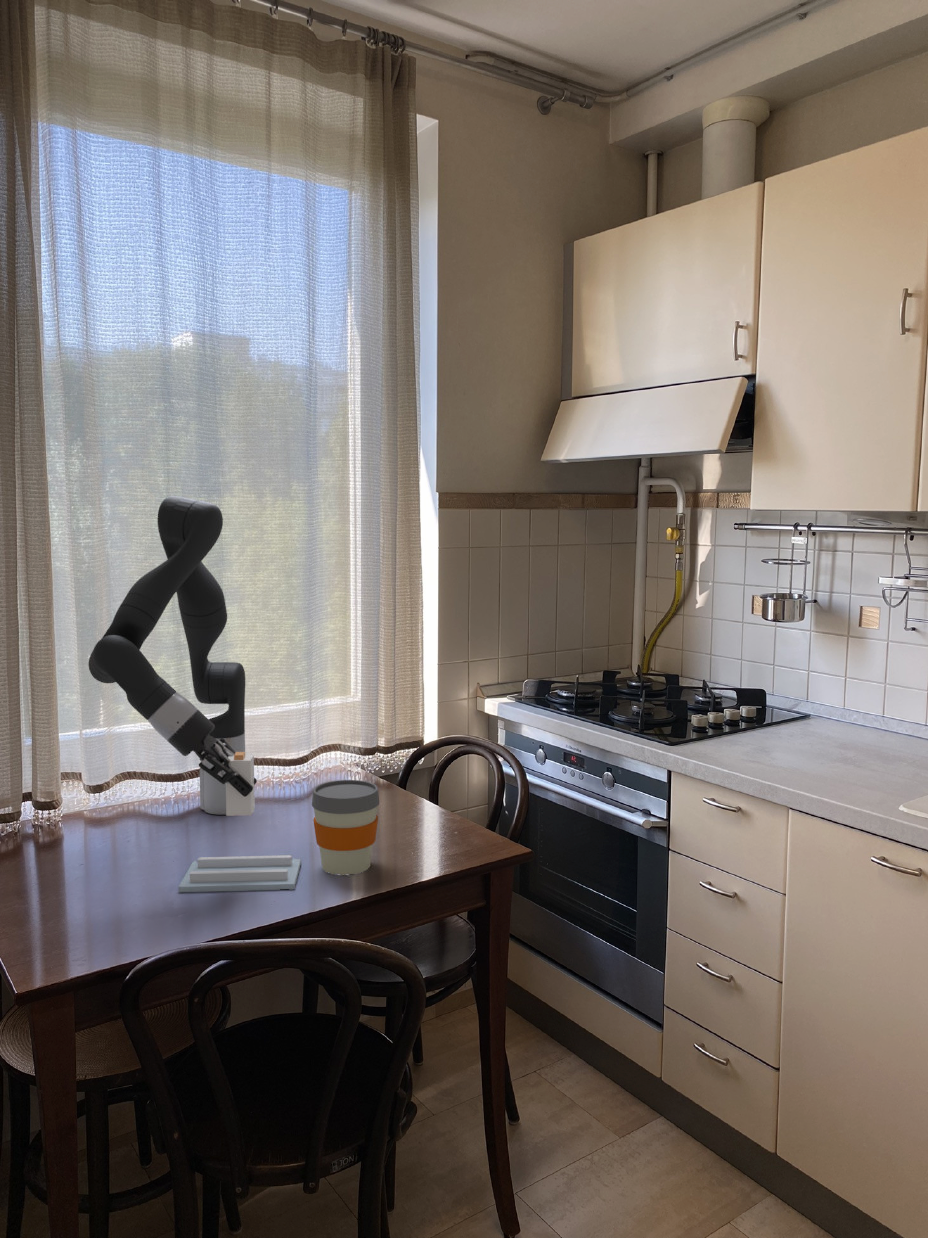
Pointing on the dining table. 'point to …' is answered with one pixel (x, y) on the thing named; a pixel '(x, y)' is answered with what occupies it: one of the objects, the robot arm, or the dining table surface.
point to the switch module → (234, 799)
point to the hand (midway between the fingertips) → (251, 788)
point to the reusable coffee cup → (345, 824)
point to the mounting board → (241, 873)
